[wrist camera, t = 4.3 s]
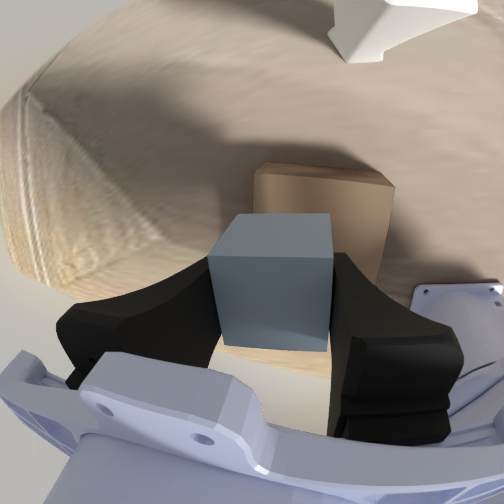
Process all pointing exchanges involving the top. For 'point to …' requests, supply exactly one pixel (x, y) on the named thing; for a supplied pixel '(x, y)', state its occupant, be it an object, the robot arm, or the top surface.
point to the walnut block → (332, 205)
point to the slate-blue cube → (274, 281)
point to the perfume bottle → (388, 24)
